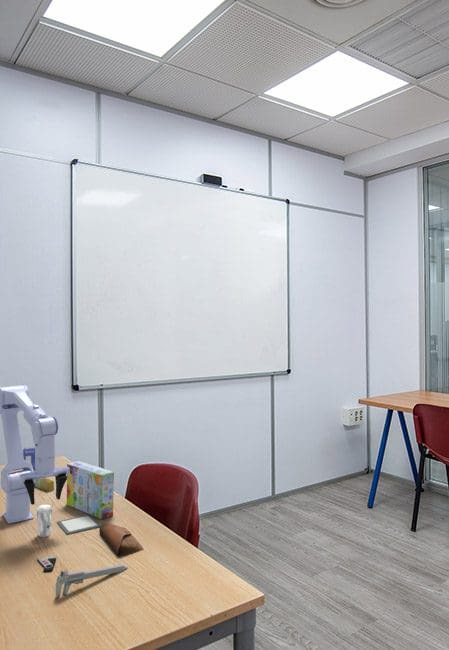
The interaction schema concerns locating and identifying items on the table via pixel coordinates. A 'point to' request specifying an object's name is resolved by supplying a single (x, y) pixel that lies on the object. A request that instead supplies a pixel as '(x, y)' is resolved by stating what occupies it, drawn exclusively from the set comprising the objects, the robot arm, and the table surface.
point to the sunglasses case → (120, 539)
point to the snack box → (90, 489)
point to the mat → (78, 524)
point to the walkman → (29, 456)
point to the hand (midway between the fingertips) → (45, 501)
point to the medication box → (45, 484)
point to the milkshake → (44, 520)
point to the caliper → (82, 577)
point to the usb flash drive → (48, 563)
